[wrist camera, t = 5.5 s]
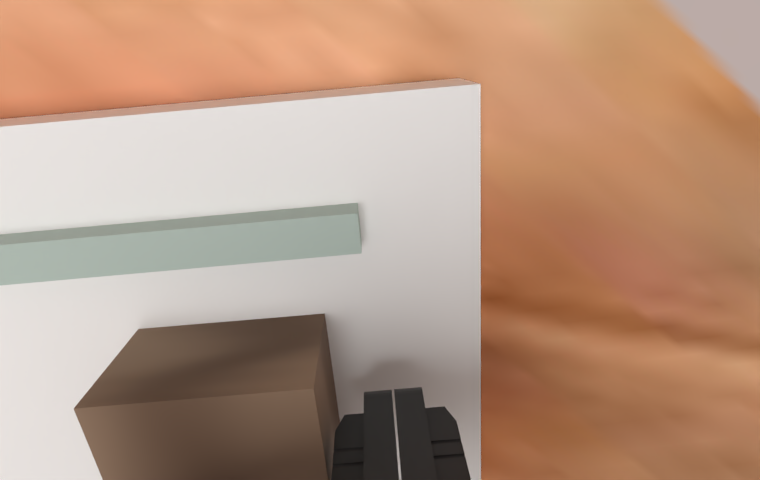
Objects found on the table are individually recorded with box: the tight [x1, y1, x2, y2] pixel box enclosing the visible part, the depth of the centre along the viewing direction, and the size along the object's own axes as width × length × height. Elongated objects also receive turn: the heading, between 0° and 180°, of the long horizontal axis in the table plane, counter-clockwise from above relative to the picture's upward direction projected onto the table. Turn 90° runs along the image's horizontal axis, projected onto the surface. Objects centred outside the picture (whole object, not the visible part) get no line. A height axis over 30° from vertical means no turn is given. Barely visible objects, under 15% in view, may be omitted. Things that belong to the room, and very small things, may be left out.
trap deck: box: [0, 78, 481, 480], centre depth 14 cm, size 26×16×3 cm, turn 95°
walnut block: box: [74, 313, 340, 480], centre depth 12 cm, size 5×5×3 cm
